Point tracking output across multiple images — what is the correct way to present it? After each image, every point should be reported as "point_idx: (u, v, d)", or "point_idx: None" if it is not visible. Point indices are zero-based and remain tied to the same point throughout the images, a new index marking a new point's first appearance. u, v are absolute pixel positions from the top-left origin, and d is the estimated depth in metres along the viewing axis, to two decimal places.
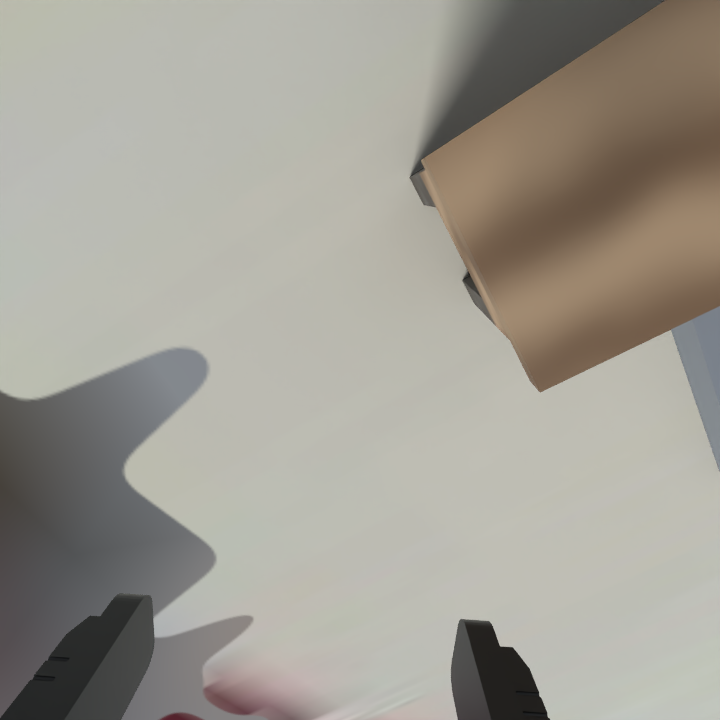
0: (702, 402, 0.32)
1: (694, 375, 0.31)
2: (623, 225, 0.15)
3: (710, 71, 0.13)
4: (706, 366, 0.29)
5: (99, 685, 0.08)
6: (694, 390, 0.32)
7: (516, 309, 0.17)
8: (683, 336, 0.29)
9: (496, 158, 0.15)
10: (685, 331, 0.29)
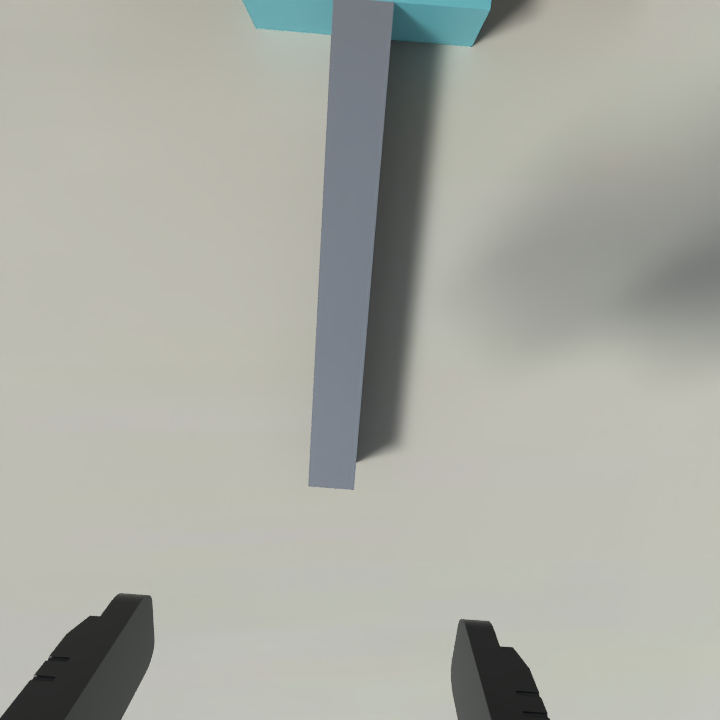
0: None
1: None
2: None
3: None
4: (321, 230, 0.18)
5: (99, 686, 0.08)
6: None
7: None
8: None
9: None
10: None
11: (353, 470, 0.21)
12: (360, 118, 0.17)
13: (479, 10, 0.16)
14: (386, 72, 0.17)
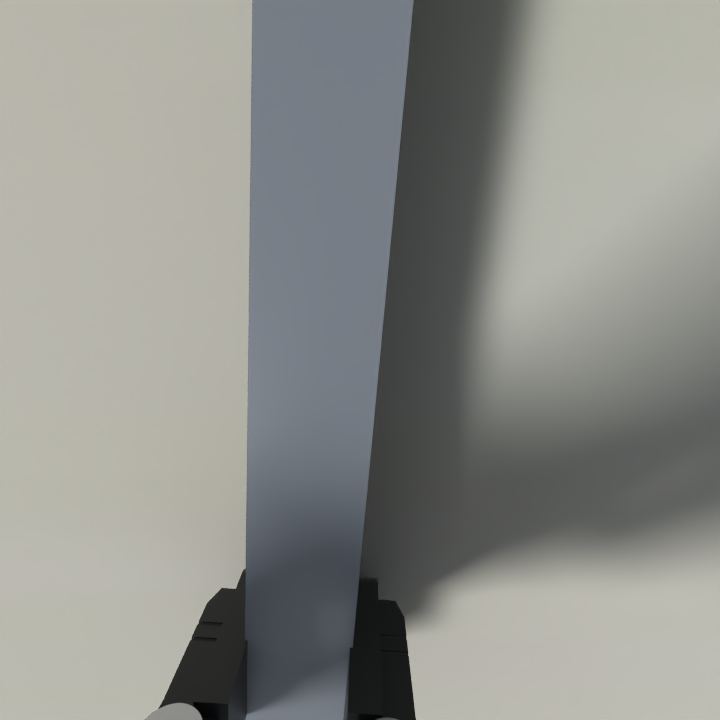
0: None
1: None
2: None
3: None
4: (251, 188, 0.07)
5: None
6: None
7: None
8: None
9: None
10: None
11: None
12: None
13: None
14: None
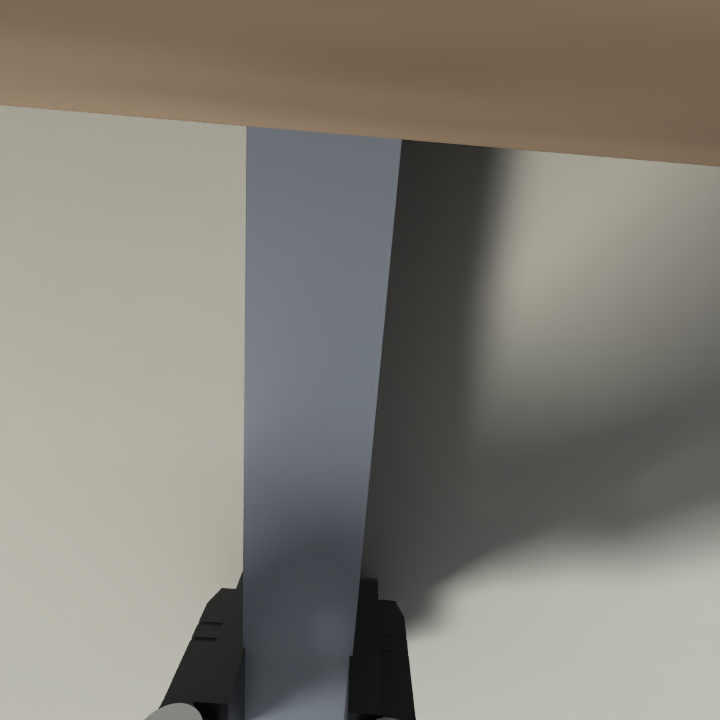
0: None
1: None
2: None
3: None
4: (247, 205, 0.07)
5: None
6: None
7: None
8: None
9: None
10: None
11: None
12: None
13: None
14: None
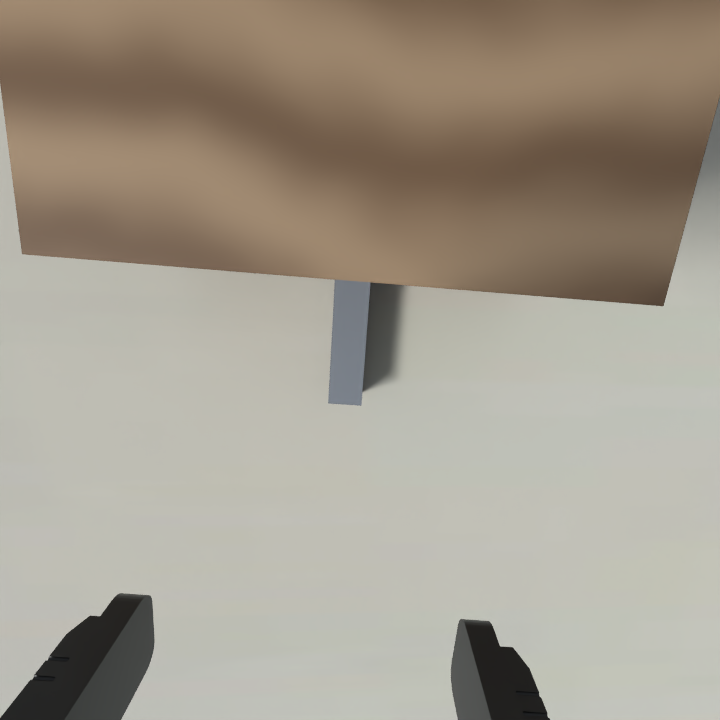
0: None
1: None
2: (143, 129, 0.16)
3: (247, 40, 0.15)
4: None
5: (99, 685, 0.08)
6: None
7: (23, 147, 0.16)
8: None
9: None
10: None
11: (361, 390, 0.29)
12: None
13: None
14: None
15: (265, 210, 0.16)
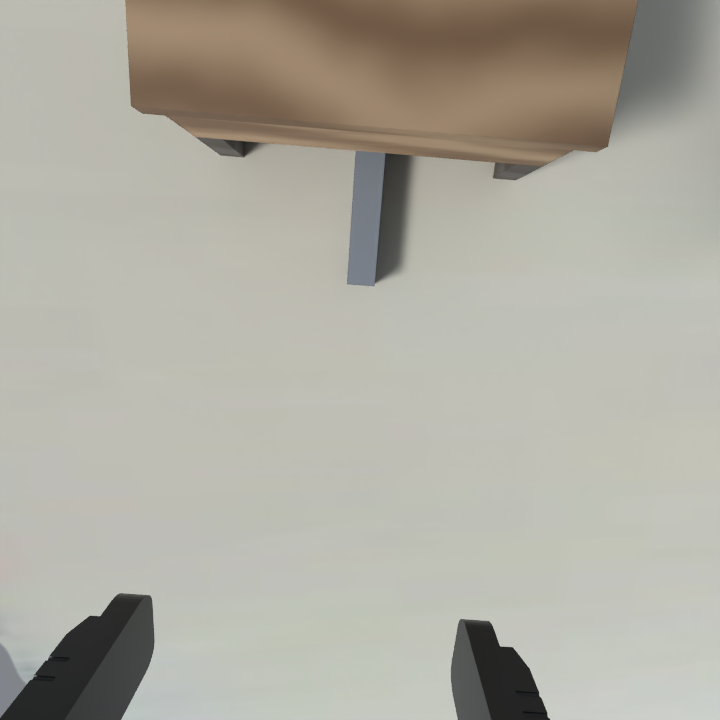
0: None
1: None
2: (226, 7, 0.21)
3: None
4: None
5: (99, 685, 0.08)
6: None
7: (137, 21, 0.22)
8: None
9: None
10: None
11: (374, 272, 0.35)
12: None
13: None
14: None
15: (312, 70, 0.22)
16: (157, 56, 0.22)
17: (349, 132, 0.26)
